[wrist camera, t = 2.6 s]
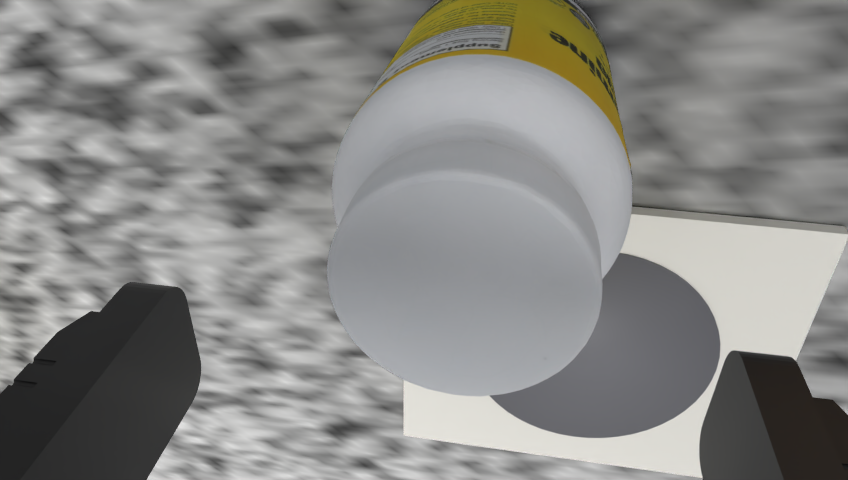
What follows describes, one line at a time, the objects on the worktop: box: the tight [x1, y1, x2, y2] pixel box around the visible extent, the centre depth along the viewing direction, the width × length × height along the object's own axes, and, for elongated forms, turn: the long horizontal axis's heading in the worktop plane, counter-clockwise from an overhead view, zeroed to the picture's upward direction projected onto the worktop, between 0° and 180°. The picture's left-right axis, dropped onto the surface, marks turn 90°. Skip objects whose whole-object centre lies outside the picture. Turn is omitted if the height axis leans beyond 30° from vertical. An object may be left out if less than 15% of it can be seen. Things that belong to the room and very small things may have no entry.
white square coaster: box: [404, 206, 848, 478], centre depth 25 cm, size 14×12×1 cm
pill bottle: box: [327, 0, 632, 396], centre depth 16 cm, size 6×6×11 cm
